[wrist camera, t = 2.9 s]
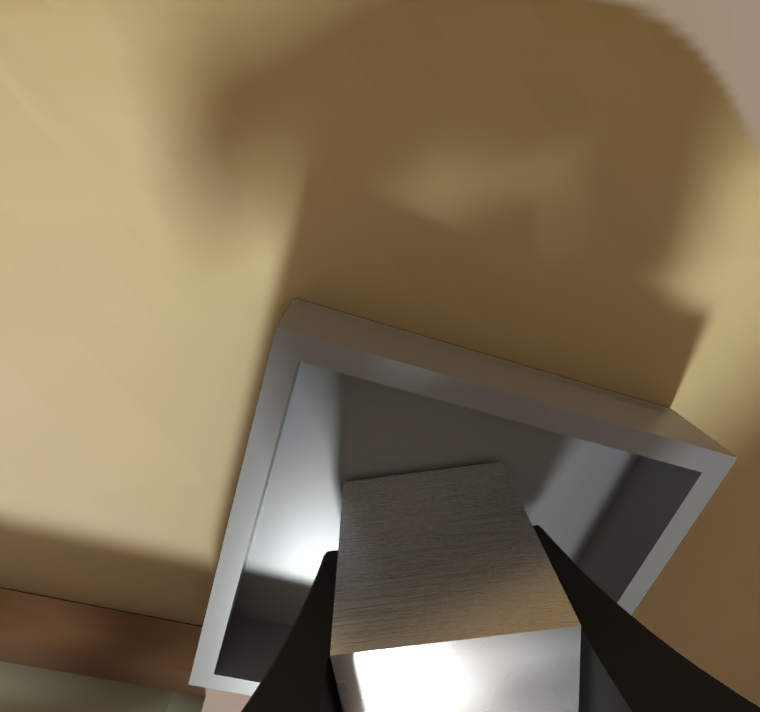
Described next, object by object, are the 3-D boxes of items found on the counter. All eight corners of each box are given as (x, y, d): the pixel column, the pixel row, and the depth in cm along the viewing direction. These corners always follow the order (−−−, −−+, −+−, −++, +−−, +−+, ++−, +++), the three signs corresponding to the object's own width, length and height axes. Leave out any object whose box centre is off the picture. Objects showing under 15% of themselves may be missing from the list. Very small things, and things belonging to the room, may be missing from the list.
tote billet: (501, 461, 13) (585, 633, 8) (507, 582, 14) (579, 787, 9) (343, 481, 13) (329, 664, 8) (365, 599, 14) (365, 811, 9)
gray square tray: (670, 408, 13) (738, 458, 11) (517, 667, 17) (542, 746, 14) (294, 298, 12) (275, 326, 9) (215, 607, 15) (188, 684, 13)
